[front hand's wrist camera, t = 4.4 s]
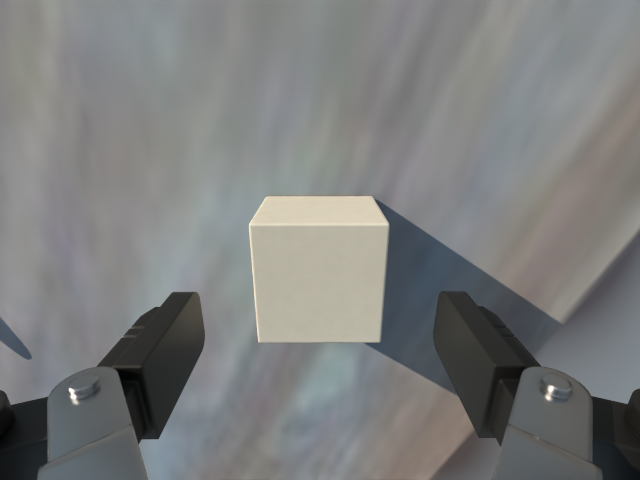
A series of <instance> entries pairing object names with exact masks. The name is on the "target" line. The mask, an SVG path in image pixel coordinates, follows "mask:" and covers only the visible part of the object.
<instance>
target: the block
mask: <svg viewBox="0 0 640 480" xmlns="http://www.w3.org/2000/svg"><path fill="white" fill-rule="evenodd" d="M389 231H390V224H389V222H388V221H387V219H386V218H385V216H384V214H383V213H382V211H381V209H380V208H379V206H378V205H377V203H376V201H375V200H374V198H373V197H372V196H267V197H266V198H265V200H264V201H263V203H262V204H261V206H260V208H259V209H258V211H257V213H256V214H255V216H254V217H253V219H252V221H251V222H250V224H249V233H250V245H251V258H252V270H253V283H254V295H255V308H256V320H257V333H258V341H259V343H380V342H381V334H382V321H383V308H384V295H385V282H386V270H387V257H388V244H389Z"/></svg>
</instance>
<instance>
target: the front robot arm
mask: <svg viewBox="0 0 640 480" xmlns="http://www.w3.org/2000/svg"><path fill="white" fill-rule="evenodd" d="M204 340H205V331H204V324H203V317H202V310H201V303H200V297H199V294H198V293H197V292H173V293H171V294H170V296H169V297H168V298H167V299H166V300H165V302H164V303H163V304H162V305H161V307H155V308H153V309H151V310H150V311H148V312H147V313H145V314H143V315H142V316H141V317H140V318H139V319H138V320H137V321H136V322H135V323H134V325H133V326H132V328H131V329H129V330H128V331H127V333H126V334H125V335H124V338H121V339H120V340H119V342H118V343H117V344H116V345H115V346H114V347H113V348H112V350H111V351H110V352H109V353H108V354H107V355H106V356H105V358H104V359H103V360H102V361H101V362H100V363H99V364H98V366H97V367H93V368H89V369H85V370H82V371H80V372H77V373H75V374H73V375H71V376H69V377H68V378H66V379H65V380H63V381H62V382H60V383H59V384H58V385H57V386H56V387H55V388H54V389H53V390H52V391H51V393H50V394H49V397H45V398H41V399H36V400H32V401H27V402H23V403H18V404H14V405H10V402H9V400H8V397H7V395H6V393H5V392H3V391H1V390H0V480H148V477H147V473H146V470H145V466H144V463H143V459H142V455H141V452H140V448H139V443H140V441H141V439H159V437H160V435H161V433H162V431H163V429H164V427H165V425H166V423H167V421H168V419H169V417H170V415H171V413H172V411H173V409H174V407H175V405H176V403H177V401H178V399H179V397H180V395H181V393H182V390H183V388H184V386H185V384H186V382H187V380H188V378H189V376H190V374H191V372H192V370H193V368H194V366H195V364H196V362H197V360H198V358H199V356H200V354H201V352H202V350H203V346H204ZM434 344H435V348H436V351H437V353H438V355H439V357H440V359H441V361H442V363H443V365H444V367H445V369H446V371H447V373H448V375H449V378H450V380H451V382H452V384H453V386H454V388H455V390H456V392H457V394H458V396H459V398H460V400H461V402H462V404H463V406H464V408H465V410H466V412H467V414H468V416H469V418H470V421H471V423H472V425H473V427H474V429H475V431H476V433H477V435H478V437H479V438H496V439H497V441H498V443H499V445H500V447H501V448H500V452H499V456H498V459H497V463H496V466H495V470H494V473H493V477H492V480H640V389H637V390H635V391H634V392H633V393H632V395H631V398H630V400H629V402H628V404H624V403H619V402H615V401H611V400H606V399H602V398H597V397H593V396H591V395H590V393H589V391H588V390H587V389H586V388H585V387H584V386H583V385H582V384H581V383H580V382H578V381H577V380H575V379H574V378H572V377H571V376H569V375H567V374H565V373H563V372H560V371H558V370H555V369H551V368H547V367H541V366H540V364H539V363H538V362H537V361H536V360H535V359H534V357H533V356H532V355H531V354H530V353H529V352H528V351H527V349H526V348H525V347H524V346H523V345H522V344H521V343H520V341H519V340H518V339H517V338H516V337H514V335H513V333H512V332H511V331H510V330H509V329H508V328H506V325H505V324H504V323H503V322H502V321H501V320H500V318H499V317H498V316H497V315H495V314H494V313H492V312H491V311H489V310H487V309H486V308H484V307H483V306H477V305H476V304H475V302H474V301H473V300H472V299H471V298H470V296H469V295H468V294H467V293H466V292H464V291H442V292H441V293H440V294H439V297H438V304H437V311H436V318H435V325H434Z"/></svg>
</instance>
